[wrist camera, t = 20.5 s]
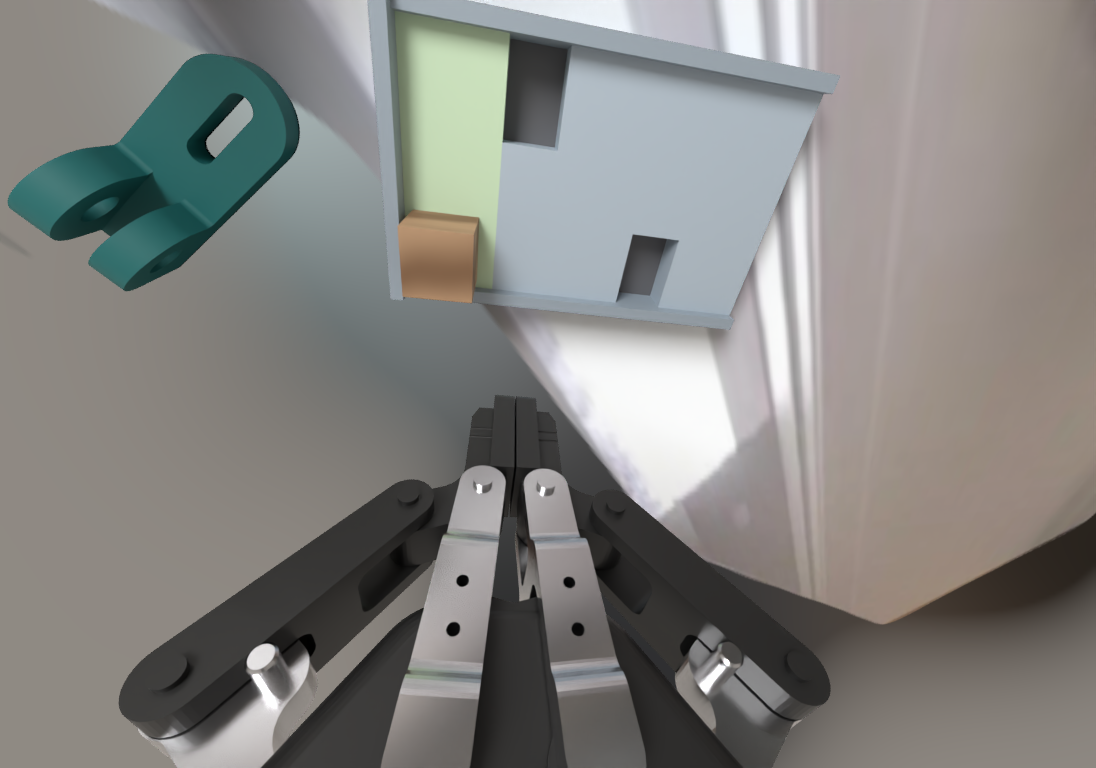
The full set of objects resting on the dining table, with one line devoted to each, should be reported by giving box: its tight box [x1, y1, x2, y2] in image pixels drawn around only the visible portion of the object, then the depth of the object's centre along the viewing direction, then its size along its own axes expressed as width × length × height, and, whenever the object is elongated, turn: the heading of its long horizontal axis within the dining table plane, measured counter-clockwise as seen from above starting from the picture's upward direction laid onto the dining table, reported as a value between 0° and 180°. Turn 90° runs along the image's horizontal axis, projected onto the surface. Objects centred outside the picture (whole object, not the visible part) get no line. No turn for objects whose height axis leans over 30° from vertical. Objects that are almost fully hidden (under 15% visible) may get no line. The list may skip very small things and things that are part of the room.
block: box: [397, 210, 479, 303], centre depth 31 cm, size 5×5×5 cm
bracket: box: [8, 54, 300, 291], centre depth 28 cm, size 18×7×8 cm, turn 124°
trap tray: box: [368, 0, 840, 330], centre depth 32 cm, size 19×30×5 cm, turn 82°
